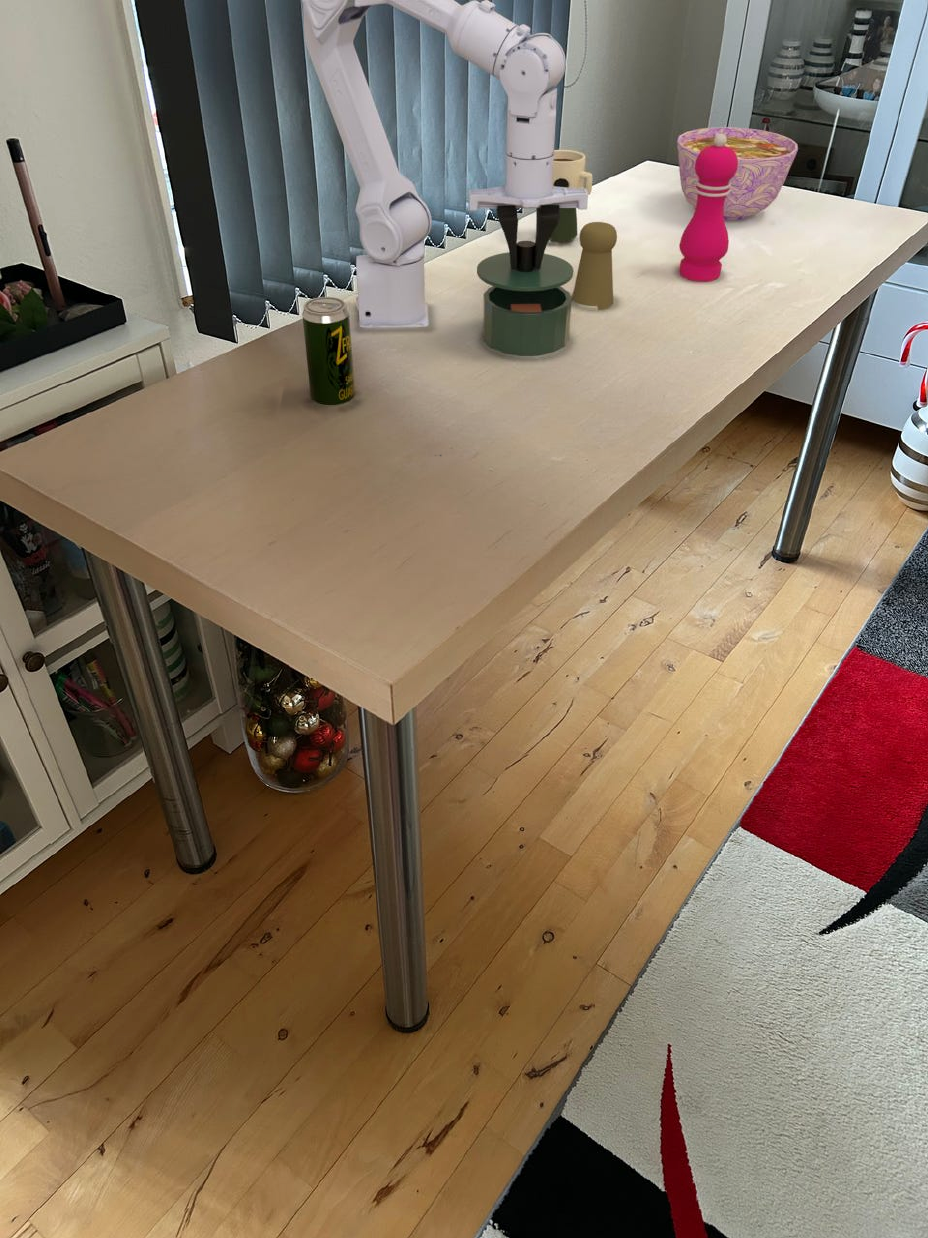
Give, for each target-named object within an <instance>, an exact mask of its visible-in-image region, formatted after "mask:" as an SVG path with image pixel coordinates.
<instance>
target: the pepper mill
mask: <svg viewBox="0 0 928 1238" xmlns="http://www.w3.org/2000/svg"><path fill="white" fill-rule="evenodd" d="M726 141H727V139H726V136H725V135H723V134H718V135H717V136H716V137H715V138H714V145H711V146H708V147H706V148H704V149H703V150H702V151H701V152H700V153H699V155H698V157H697V159H696V163H695V172H696V174H697V176H698V177H699V180H697V181H696V188H695V191H696V192H697V204H696V208H695V209H694V212H693V214H692V217H691V218H690V220H689V222H688V224H687V226H686V227H685V228H684V231H683V232H682V234H681V237H680V241H679V245H678V246H679V251H680V253H681V255H682V256H683V258H681V260H680V262H679V269H678V273H679V274H680V276H681V277H682V278H684V279H686V280H690V281H693V282H694V281H695V282H712V281H715V280H718V279H719V278H720V277H721V274H722V273H721V272H722V267H723V263H722V262H721V261H720V260H722V259H723V258H724V257H725V255H726V254H727V253H728V251H729V241H730V239H729V233H728V229H727V225H726V220H724V214H723V210H724V202H725V198H726V195H728V194H729V193H730V190H729V189H730V187H731V183H730V182H729V180H730V179H731V178H732V177H733V176H734V175H735V173H736V171H737V168H738V159H737V155H736V153H735V152H734V151H733V150H732V149H731V148H729V147H727V146H724V145H725V144H726Z"/></svg>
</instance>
